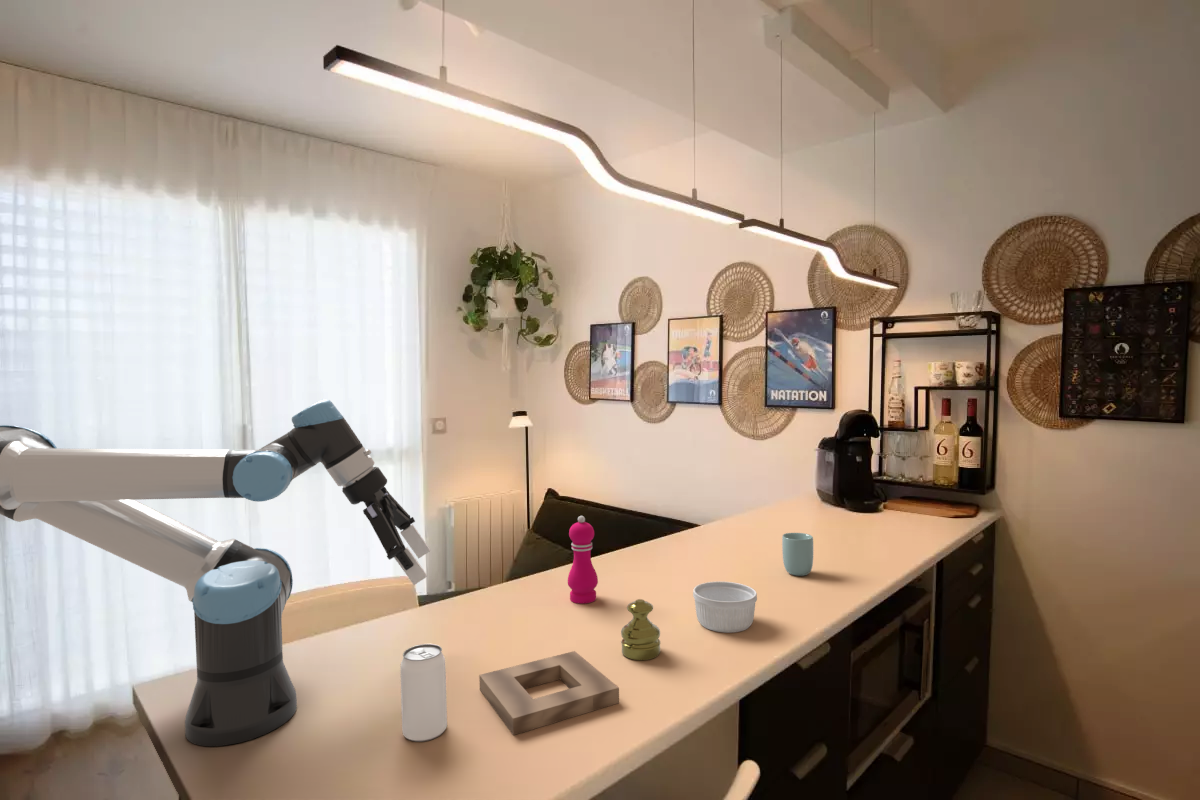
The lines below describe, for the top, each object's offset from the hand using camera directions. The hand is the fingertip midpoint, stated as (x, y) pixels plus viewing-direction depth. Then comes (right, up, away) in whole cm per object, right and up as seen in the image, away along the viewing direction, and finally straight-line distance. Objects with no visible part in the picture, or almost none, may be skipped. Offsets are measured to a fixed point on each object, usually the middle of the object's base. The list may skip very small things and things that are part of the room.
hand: (422, 566), depth 120 cm
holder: (+25, -17, -17) cm, 35 cm away
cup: (+86, -14, +45) cm, 98 cm away
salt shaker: (+42, -16, -1) cm, 45 cm away
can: (+8, -18, -27) cm, 33 cm away
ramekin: (+61, -16, +12) cm, 64 cm away
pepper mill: (+30, -16, +29) cm, 44 cm away
